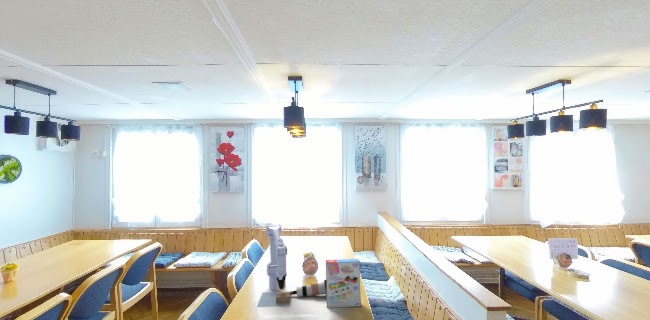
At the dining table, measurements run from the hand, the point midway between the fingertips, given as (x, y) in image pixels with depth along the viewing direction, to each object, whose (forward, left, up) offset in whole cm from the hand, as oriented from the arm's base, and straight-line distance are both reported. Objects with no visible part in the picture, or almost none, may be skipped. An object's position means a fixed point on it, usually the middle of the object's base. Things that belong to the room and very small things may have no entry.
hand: (281, 287), depth 205 cm
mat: (-3, -4, -9) cm, 10 cm away
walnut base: (0, +1, -8) cm, 8 cm away
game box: (+8, +38, -9) cm, 40 cm away
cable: (-7, +21, -9) cm, 23 cm away
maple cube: (0, 0, -1) cm, 1 cm away
